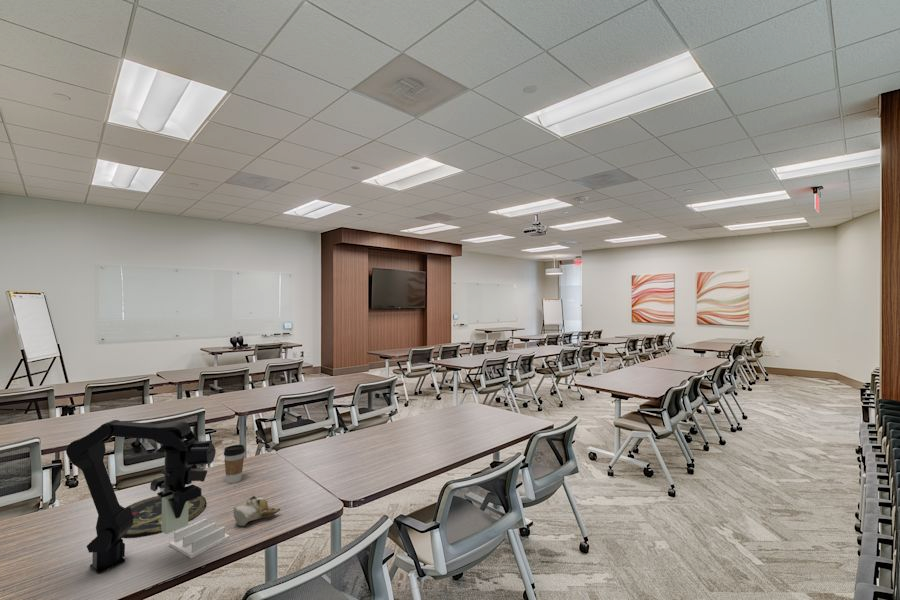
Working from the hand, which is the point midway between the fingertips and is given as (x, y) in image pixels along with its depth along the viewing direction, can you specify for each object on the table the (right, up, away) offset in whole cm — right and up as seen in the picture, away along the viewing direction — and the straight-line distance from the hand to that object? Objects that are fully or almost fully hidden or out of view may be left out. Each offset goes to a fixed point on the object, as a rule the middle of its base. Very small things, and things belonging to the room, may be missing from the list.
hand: (175, 516), depth 120 cm
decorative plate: (-24, -14, +26) cm, 38 cm away
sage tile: (0, -4, 0) cm, 4 cm away
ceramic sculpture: (+13, -14, +23) cm, 30 cm away
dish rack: (+2, -13, +9) cm, 16 cm away
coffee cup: (-12, -15, +55) cm, 58 cm away
